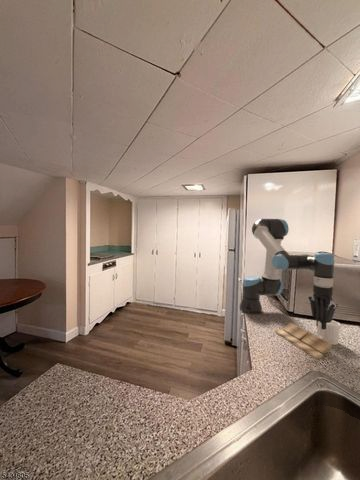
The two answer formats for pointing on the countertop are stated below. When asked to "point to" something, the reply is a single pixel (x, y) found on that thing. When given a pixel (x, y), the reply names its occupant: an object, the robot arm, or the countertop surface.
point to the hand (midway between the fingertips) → (320, 334)
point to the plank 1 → (295, 331)
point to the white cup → (332, 332)
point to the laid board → (299, 344)
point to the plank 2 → (316, 343)
